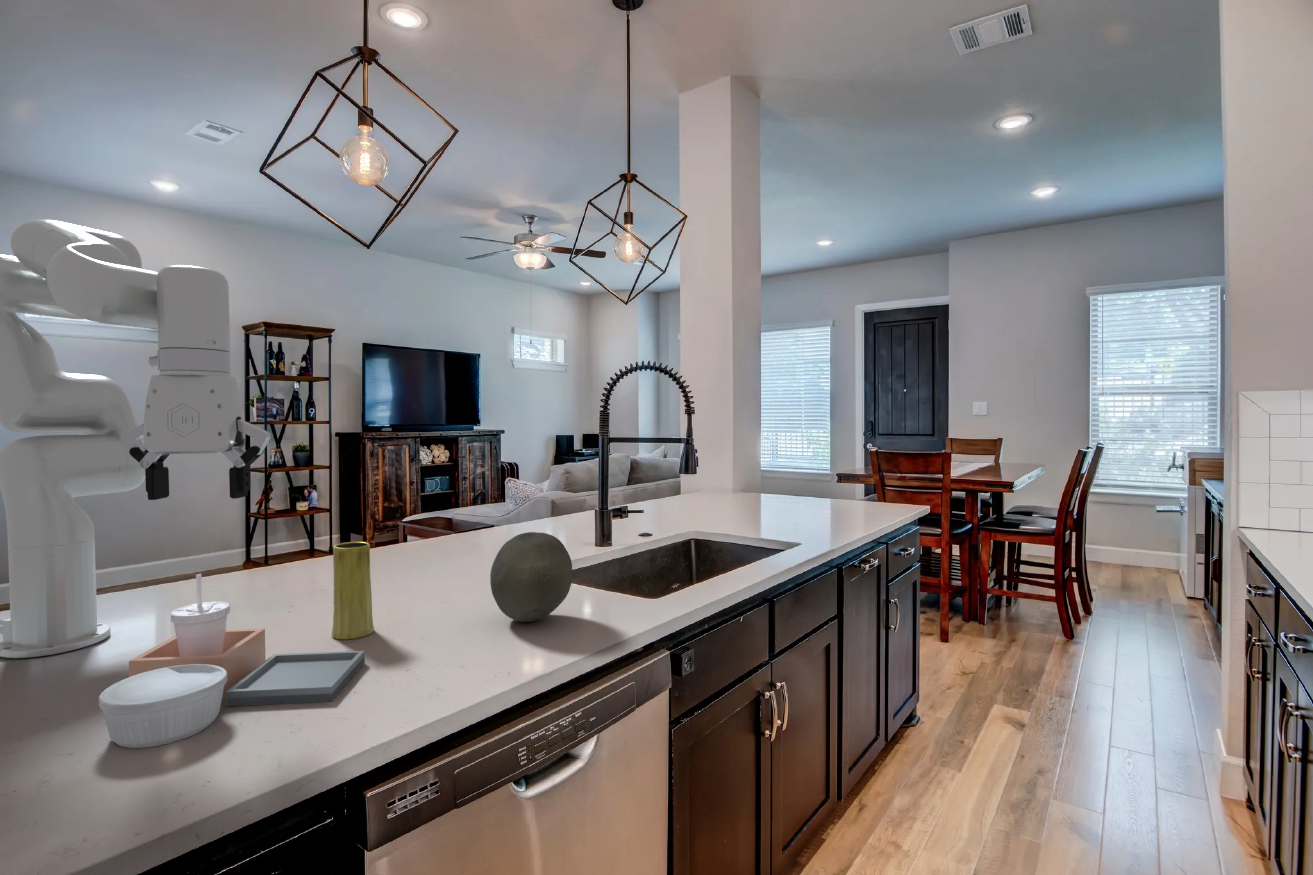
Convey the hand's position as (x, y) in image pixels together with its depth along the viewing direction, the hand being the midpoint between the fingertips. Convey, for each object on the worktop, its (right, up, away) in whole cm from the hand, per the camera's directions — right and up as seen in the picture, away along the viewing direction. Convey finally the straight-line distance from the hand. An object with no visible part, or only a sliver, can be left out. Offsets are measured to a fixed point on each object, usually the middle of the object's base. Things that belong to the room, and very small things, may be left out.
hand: (199, 497), depth 83 cm
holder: (0, -24, +1) cm, 24 cm away
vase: (+11, -24, +19) cm, 32 cm away
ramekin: (+5, -25, -11) cm, 28 cm away
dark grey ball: (+38, -24, +26) cm, 52 cm away
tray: (+13, -24, 0) cm, 27 cm away
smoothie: (0, -24, +1) cm, 24 cm away
